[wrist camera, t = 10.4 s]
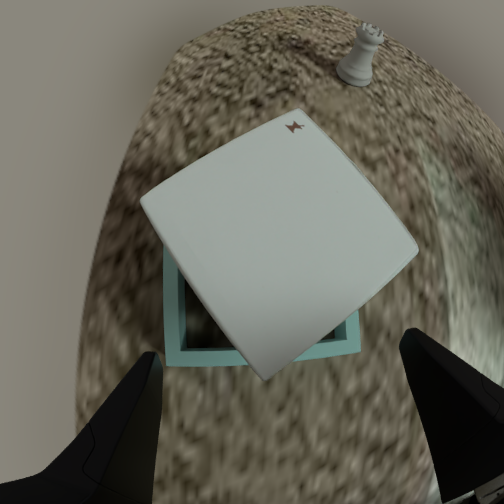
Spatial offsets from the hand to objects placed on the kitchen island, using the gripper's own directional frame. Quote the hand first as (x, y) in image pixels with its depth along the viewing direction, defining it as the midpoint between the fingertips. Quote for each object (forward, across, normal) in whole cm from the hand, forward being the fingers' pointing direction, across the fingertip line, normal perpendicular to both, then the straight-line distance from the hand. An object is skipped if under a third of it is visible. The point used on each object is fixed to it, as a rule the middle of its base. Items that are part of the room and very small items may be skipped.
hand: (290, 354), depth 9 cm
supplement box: (+11, 0, +5) cm, 12 cm away
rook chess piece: (+28, -13, -12) cm, 33 cm away
